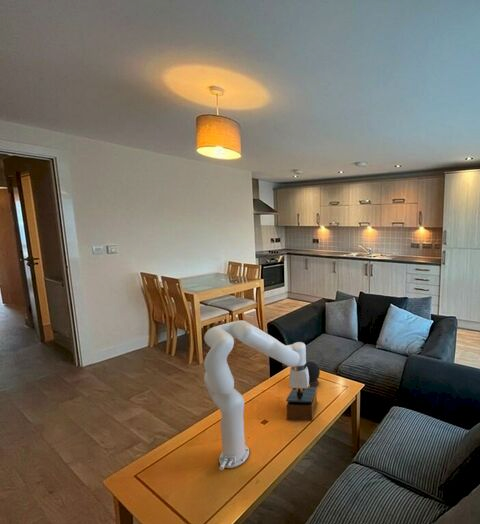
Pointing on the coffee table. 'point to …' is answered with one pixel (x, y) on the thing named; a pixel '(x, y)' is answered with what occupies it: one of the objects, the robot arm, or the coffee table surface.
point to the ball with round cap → (313, 373)
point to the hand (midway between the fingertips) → (300, 397)
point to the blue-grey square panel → (307, 395)
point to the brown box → (301, 409)
